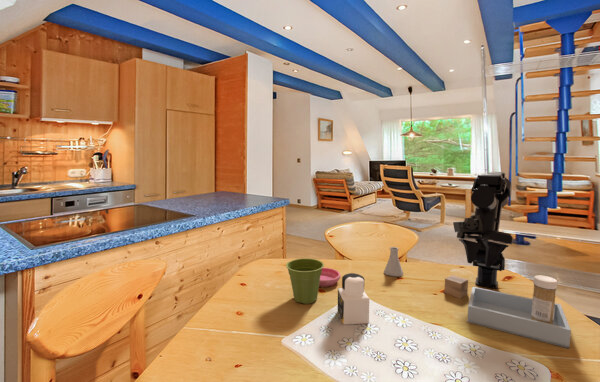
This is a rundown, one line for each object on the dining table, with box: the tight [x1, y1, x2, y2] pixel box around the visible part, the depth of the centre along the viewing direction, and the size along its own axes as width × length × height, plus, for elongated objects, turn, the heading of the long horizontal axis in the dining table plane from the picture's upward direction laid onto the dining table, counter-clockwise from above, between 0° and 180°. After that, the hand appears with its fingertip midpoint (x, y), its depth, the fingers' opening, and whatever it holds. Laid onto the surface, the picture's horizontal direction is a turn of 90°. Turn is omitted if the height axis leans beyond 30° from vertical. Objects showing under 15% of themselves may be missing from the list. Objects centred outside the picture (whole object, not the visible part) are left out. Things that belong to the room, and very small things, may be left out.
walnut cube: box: [444, 274, 469, 299], centre depth 97 cm, size 5×5×5 cm
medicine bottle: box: [337, 272, 370, 325], centre depth 82 cm, size 7×7×12 cm
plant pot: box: [285, 257, 325, 305], centre depth 93 cm, size 12×12×11 cm
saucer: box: [319, 267, 341, 288], centre depth 107 cm, size 12×12×3 cm
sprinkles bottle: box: [531, 274, 558, 325], centre depth 75 cm, size 5×5×14 cm
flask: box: [383, 246, 404, 277], centre depth 114 cm, size 7×7×10 cm
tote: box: [466, 286, 572, 349], centre depth 80 cm, size 15×21×4 cm
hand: (478, 264), depth 90 cm, fingers open, 9 cm apart
